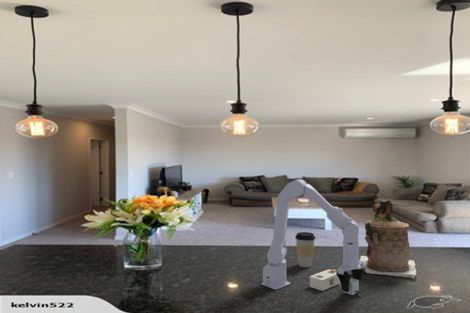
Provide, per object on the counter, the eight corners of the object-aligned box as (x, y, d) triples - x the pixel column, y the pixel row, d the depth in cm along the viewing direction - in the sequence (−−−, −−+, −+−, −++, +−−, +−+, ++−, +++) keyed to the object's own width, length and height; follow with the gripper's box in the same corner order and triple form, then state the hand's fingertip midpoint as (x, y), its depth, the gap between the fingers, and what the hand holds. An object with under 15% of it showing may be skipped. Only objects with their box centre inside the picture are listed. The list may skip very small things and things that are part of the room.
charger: (337, 290, 141) (337, 278, 141) (344, 287, 144) (344, 275, 144) (359, 297, 134) (359, 285, 134) (366, 294, 137) (366, 282, 137)
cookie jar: (415, 264, 174) (415, 197, 174) (417, 280, 152) (416, 203, 152) (360, 258, 185) (360, 194, 184) (355, 273, 162) (354, 201, 162)
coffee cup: (292, 266, 172) (292, 234, 171) (298, 261, 180) (298, 231, 180) (312, 269, 167) (312, 236, 167) (317, 263, 175) (317, 232, 175)
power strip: (309, 286, 146) (309, 274, 146) (335, 276, 158) (335, 265, 158) (322, 290, 142) (322, 278, 141) (348, 280, 153) (348, 268, 153)
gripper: (349, 259, 131) (349, 296, 132) (370, 251, 141) (370, 286, 141) (332, 255, 137) (333, 291, 137) (354, 248, 146) (354, 282, 146)
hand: (351, 288), depth 139 cm, fingers open, 7 cm apart
